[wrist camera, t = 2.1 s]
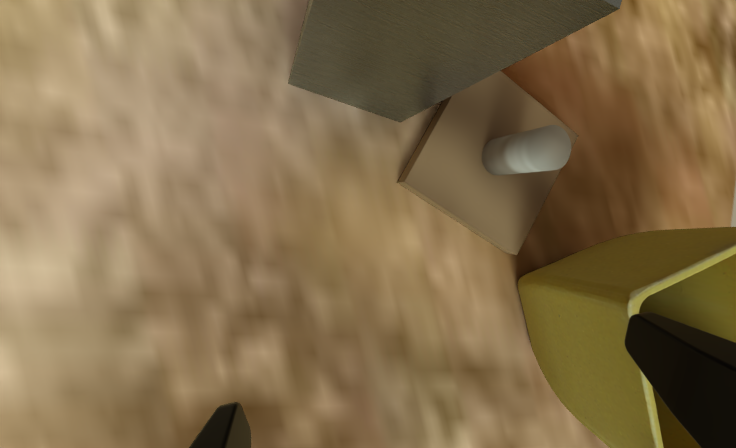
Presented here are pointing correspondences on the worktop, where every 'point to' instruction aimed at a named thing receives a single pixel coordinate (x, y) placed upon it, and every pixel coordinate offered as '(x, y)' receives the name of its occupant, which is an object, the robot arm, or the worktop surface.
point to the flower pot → (626, 324)
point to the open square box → (424, 46)
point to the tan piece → (490, 160)
